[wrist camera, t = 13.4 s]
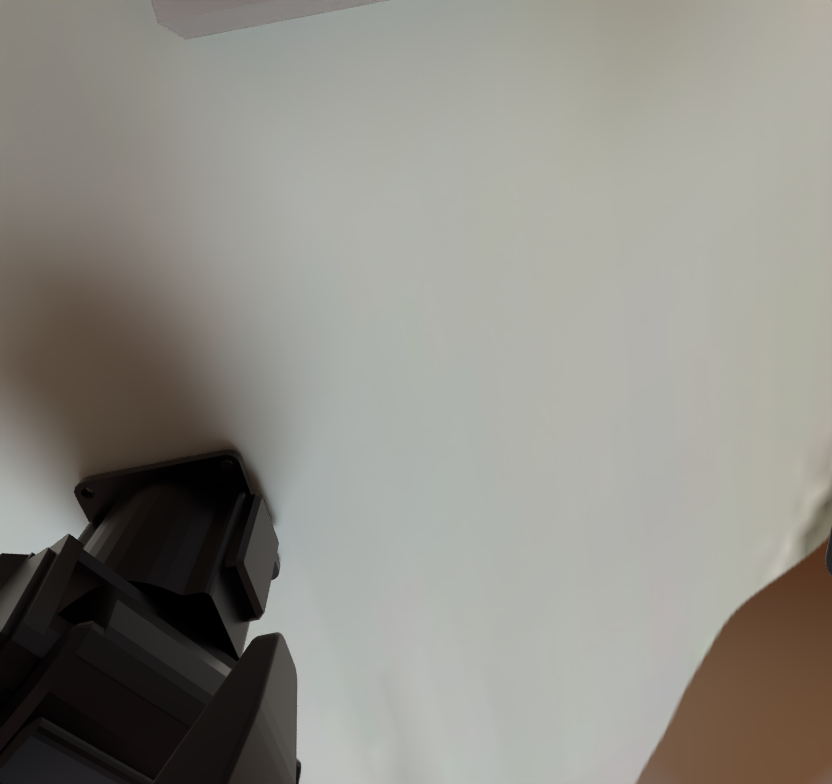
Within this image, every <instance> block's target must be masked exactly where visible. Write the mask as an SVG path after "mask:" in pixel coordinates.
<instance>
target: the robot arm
mask: <svg viewBox="0 0 832 784" xmlns="http://www.w3.org/2000/svg"><path fill="white" fill-rule="evenodd" d="M225 460H229V461H231V462H232V463H233V464H234V465H232V466H227V465H225V464H224V462H223V461H225ZM86 488H90V489H92V490H93V491H94V492H95V493H91V492H89V491H88V490H87V489H86ZM74 493H75V496H76V498H77V500H78V502H79V504H80V506H81V507H82V509H83V511H84V513H85V515H86V517H87V519H88V521H89V522H90V523H89V524H88V526H87V527H86V529H85V530H84V531H83V533H82V534H81V535H80V537H79V538H78V540H77V539H76V538H74V537H73V536H71V535H70V534H67V535H66V536H64V537H63V538H62V539H61V540H59V541H58V542H57V543H55V544H54V545H53V546H51V547H50V548H49V547H48V548H46V549H44V550H43V551H41V552H40V553H38V554H37V555H35V554H34V553H33V552H32V553H31V554H29V555H24V554H5V553H2V554H0V784H299V780H300V774H301V763H300V761H299V760H298V759H297V758H296V739H297V673H296V668H295V665H294V662H293V660H292V657H291V654H290V652H289V649H288V647H287V644H286V641H285V639H284V637H283V635H282V634H281V633H277V632H276V633H271V634H266V635H261V636H257V637H255V638H254V639H253V640H252V641H251V643H250V644H249V646H248V647H247V648H246V650H245V651H244V653H243V649H244V645H245V641H246V636H247V632H248V628H249V624H250V621H254V620H259V619H260V618H261V617H262V615H263V614H264V612H265V607H266V603H267V598H268V593H269V588H270V583H271V580H273V579H275V578H276V577H278V574H279V571H280V562H279V559H278V557H277V549H278V545H279V542H278V539H277V536H276V533H275V531H274V528H273V525H272V522H271V519H270V516H269V514H268V511H267V508H266V505H265V502H264V500H263V497H261V496H260V495H259V494H257V493H254V490H253V487H252V485H251V482H250V479H249V476H248V474H247V471H246V468H245V465H244V463H243V460H242V457H241V456H240V454H239V453H237V452H236V451H233V450H222V451H217V452H212V453H207V454H202V455H197V456H191V457H186V458H181V459H176V460H171V461H166V462H161V463H156V464H151V465H146V466H141V467H135V468H130V469H125V470H120V471H115V472H110V473H105V474H100V475H95V476H90V477H86V478H83V479H82V480H81V481H80V482H79V483H78V485H77V486H76V487H75V490H74ZM825 563H826V567H827V570H828V572H829V574H830V575H831V577H832V527H831V530H830V536H829V541H828V547H827V552H826V556H825Z"/></svg>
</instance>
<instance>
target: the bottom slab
mask: <svg viewBox="0 0 832 784" xmlns="http://www.w3.org/2000/svg"><path fill="white" fill-rule="evenodd" d="M382 1H388V0H151V2H152V5H153V8H154V11H155V15H156V18H157V21H158V23H159V24H161V25H163V26H164V27H166V28H168V29H169V30H171V31H173V32H174V33H176V34H178V35H179V36H181V37H183V38H184V39H190V38H195V37H201V36H206V35H211V34H216V33H221V32H227V31H232V30H237V29H242V28H247V27H253V26H258V25H263V24H268V23H273V22H279V21H284V20H289V19H294V18H299V17H304V16H310V15H315V14H320V13H325V12H330V11H336V10H341V9H346V8H351V7H356V6H362V5H367V4H372V3H377V2H382Z"/></svg>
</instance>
